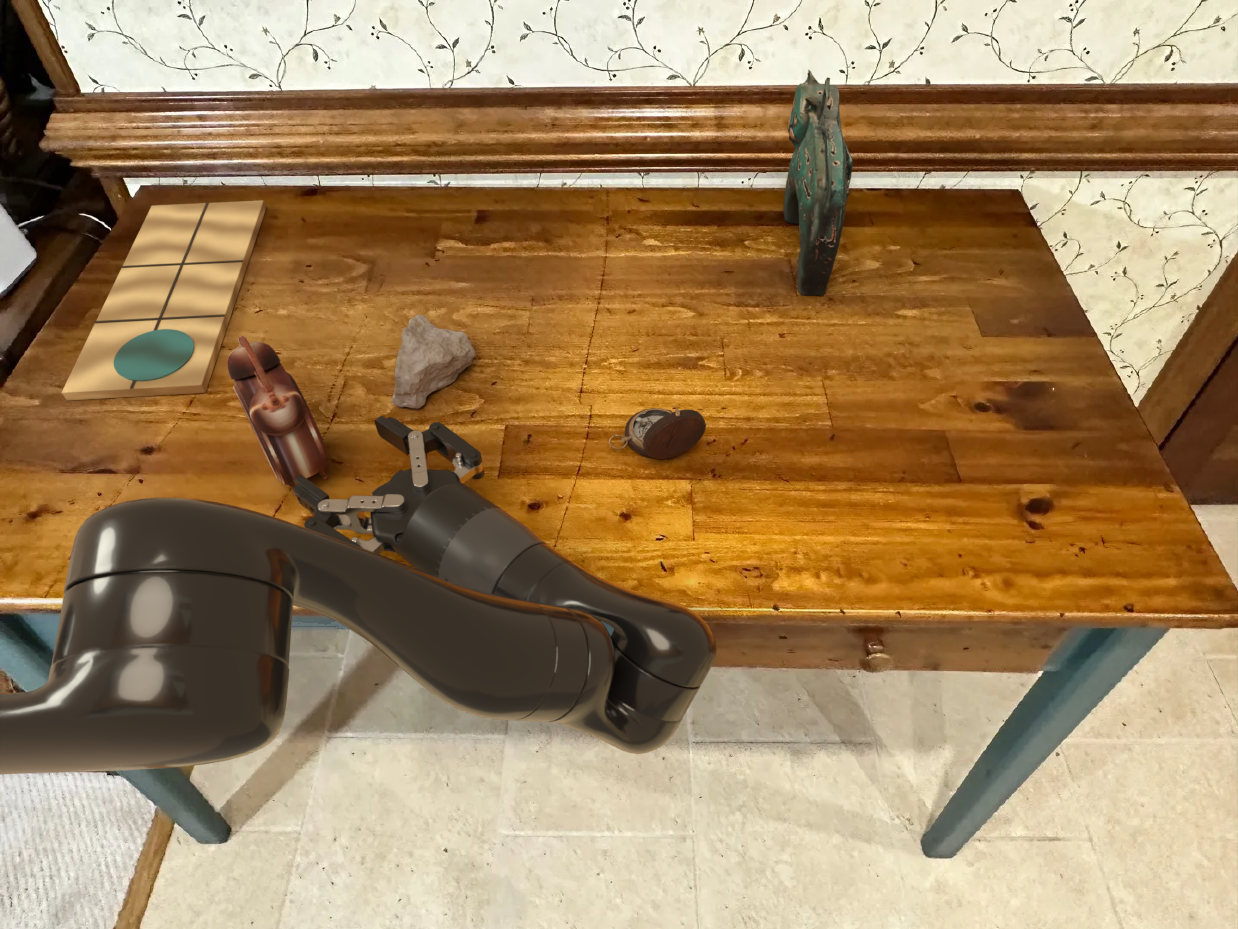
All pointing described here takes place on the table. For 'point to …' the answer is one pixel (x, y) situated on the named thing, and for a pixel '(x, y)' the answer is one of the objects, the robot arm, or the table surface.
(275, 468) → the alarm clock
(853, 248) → the table surface
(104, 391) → the board
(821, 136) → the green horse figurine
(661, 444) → the compass
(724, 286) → the table surface
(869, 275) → the table surface
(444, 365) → the stone
